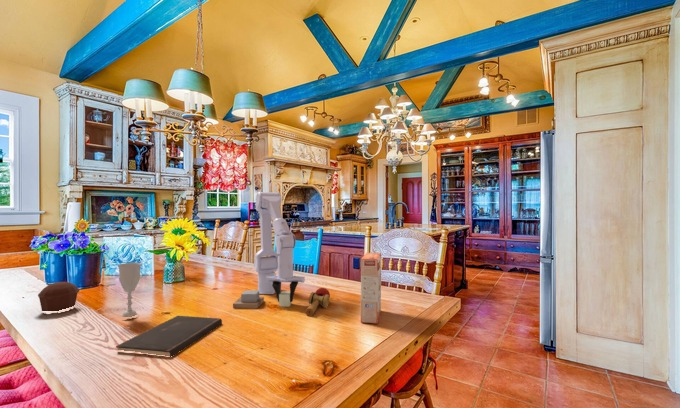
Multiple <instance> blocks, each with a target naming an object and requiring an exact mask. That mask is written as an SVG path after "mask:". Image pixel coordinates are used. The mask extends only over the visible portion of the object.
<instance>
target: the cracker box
mask: <svg viewBox="0 0 680 408" xmlns="http://www.w3.org/2000/svg"><path fill="white" fill-rule="evenodd" d="M360 260H361V261H360V323H362V324H363V323H364V324H375V325H376V324H377V325H378V323H379V318H380V315H381V312H382V311H381V309H382V308H381V307H382V304H381V303H382V302H381V301H382V299H381V298H382V253H379V252H366V253H365V254H363V256H362V257H361V259H360Z"/></svg>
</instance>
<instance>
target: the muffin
mask: <svg viewBox="0 0 680 408" xmlns="http://www.w3.org/2000/svg"><path fill="white" fill-rule="evenodd" d="M79 292H80V289H79V288H78V287H77V285H75V284H74V283H73V282H69V281H58V282H52V283H50V284H48V285H47V286H44V288H43V289H41V291H40V292H39V293H38V294H37V297H38V299H39V303H40V309H41V312H42V311H59V310H62V309H66V308H69V307H72V306H74V305H75V306H76V303H77V298H78V297H77V296H78V293H79Z"/></svg>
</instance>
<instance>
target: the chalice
mask: <svg viewBox="0 0 680 408" xmlns="http://www.w3.org/2000/svg"><path fill="white" fill-rule="evenodd" d="M142 264H143V263H141V262H125V263H120V264H117V268H118V272H119V273H118V274H119V275H118V280H119V284H120V286H121V288H122V289H123V291H124V292H126V293H127V297H126V300H127V302H126V305H127V309H126V310H125V311H124V312H122V315H121V317H132V316H135V315H138V313H137V311H136V310H135V309H133V308H132V304H133V302H132V299H133V297H132V293H133V292H134V291H135V290H136V289H137V286H138V284H139V282H140V280H141V267H142Z"/></svg>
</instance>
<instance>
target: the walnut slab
mask: <svg viewBox="0 0 680 408" xmlns="http://www.w3.org/2000/svg"><path fill="white" fill-rule="evenodd" d="M264 301H265V297H264V296H259V299H258V300H257V301H256V302H241V296H240V297H239V298H238V299H236V300H235V301H234V302H233V303H232V309H233V308H250V309H251V310H252V309H254V310H256V309H257V310H258V309H259V308H260V306H261V305H262V304H263V303H264Z"/></svg>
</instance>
